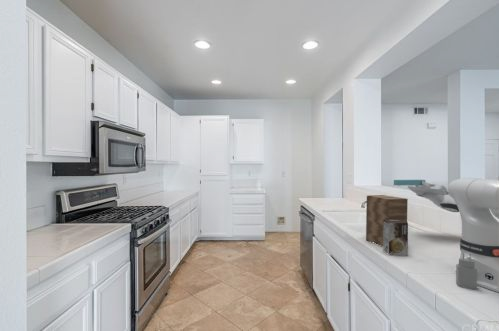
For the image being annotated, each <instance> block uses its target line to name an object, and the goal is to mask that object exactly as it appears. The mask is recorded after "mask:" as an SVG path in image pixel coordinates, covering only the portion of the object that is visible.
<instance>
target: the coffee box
mask: <svg viewBox="0 0 499 331" xmlns="http://www.w3.org/2000/svg"><path fill="white" fill-rule="evenodd" d="M382 248H383V249H382V251H383V250H384V251H385V252H384V251H383V252H384V253H385V254H387V253H388V254H392V255H391V256H405V255H406V256H407V257H408V255H409V222H408V221H407V222H405V221H403V220H384V226H383V247H382ZM388 254H387V255H388Z"/></svg>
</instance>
